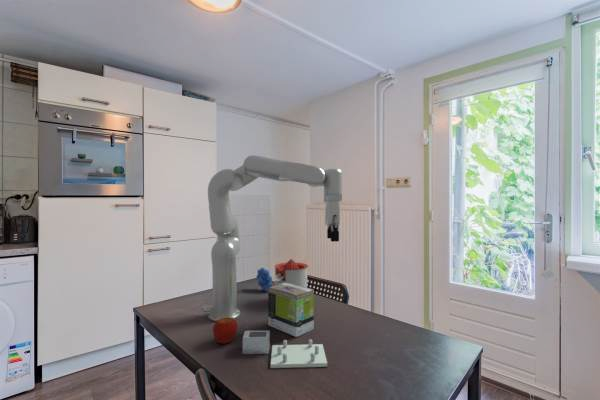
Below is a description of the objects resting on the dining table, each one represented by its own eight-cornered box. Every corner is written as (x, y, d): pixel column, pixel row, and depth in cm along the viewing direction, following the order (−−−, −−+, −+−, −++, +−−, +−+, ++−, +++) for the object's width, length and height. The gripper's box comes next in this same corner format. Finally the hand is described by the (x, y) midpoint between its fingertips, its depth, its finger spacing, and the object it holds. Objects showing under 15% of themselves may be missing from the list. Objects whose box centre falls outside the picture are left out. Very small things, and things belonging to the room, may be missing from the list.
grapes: (250, 290, 154) (250, 267, 154) (260, 287, 159) (260, 265, 159) (265, 294, 146) (265, 271, 146) (275, 291, 151) (275, 268, 151)
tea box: (314, 329, 107) (314, 288, 107) (295, 338, 99) (296, 295, 99) (286, 318, 117) (286, 281, 117) (267, 325, 109) (267, 286, 110)
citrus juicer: (264, 303, 133) (264, 260, 134) (290, 294, 147) (290, 254, 147) (289, 311, 123) (289, 264, 124) (314, 301, 137) (314, 258, 137)
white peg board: (270, 368, 81) (270, 357, 81) (272, 348, 92) (272, 338, 92) (327, 366, 82) (327, 355, 82) (322, 347, 93) (322, 337, 93)
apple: (211, 338, 99) (212, 315, 99) (235, 334, 102) (235, 312, 102) (214, 349, 92) (214, 324, 92) (239, 344, 95) (239, 320, 95)
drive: (242, 354, 89) (242, 337, 89) (245, 346, 94) (245, 330, 94) (268, 354, 89) (268, 337, 89) (269, 346, 94) (269, 330, 94)
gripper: (321, 199, 129) (321, 237, 129) (326, 198, 112) (326, 242, 112) (338, 199, 130) (338, 237, 130) (346, 198, 113) (346, 242, 112)
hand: (332, 239), depth 121 cm, fingers open, 9 cm apart
